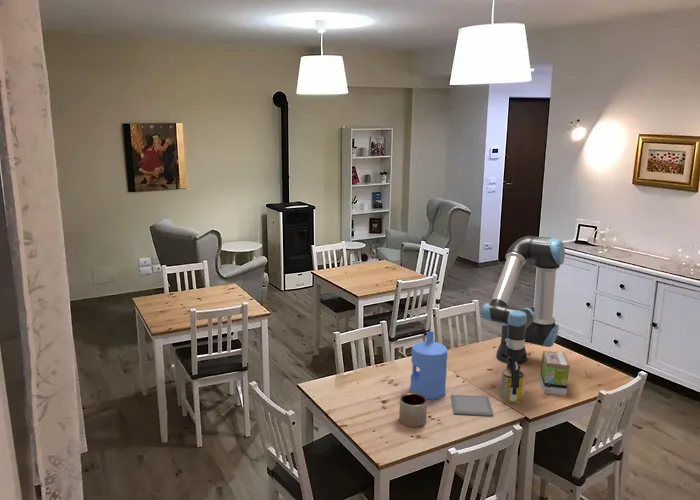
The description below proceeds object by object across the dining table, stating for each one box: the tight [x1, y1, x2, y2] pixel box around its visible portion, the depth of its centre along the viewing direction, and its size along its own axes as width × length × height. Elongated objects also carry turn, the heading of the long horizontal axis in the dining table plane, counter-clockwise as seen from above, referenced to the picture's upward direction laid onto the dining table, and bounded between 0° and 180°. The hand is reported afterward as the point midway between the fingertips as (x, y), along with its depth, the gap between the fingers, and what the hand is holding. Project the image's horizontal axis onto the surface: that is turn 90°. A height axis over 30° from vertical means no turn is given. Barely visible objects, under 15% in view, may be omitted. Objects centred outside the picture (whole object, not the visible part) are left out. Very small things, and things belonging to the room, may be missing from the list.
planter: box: [398, 392, 428, 428], centre depth 232 cm, size 11×11×10 cm
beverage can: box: [499, 368, 525, 404], centre depth 251 cm, size 9×9×12 cm
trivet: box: [450, 394, 495, 417], centre depth 245 cm, size 16×16×1 cm
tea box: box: [539, 350, 571, 397], centre depth 262 cm, size 15×10×15 cm
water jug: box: [409, 331, 448, 400], centre depth 254 cm, size 16×16×28 cm
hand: (511, 395), depth 252 cm, fingers closed on beverage can, 9 cm apart
